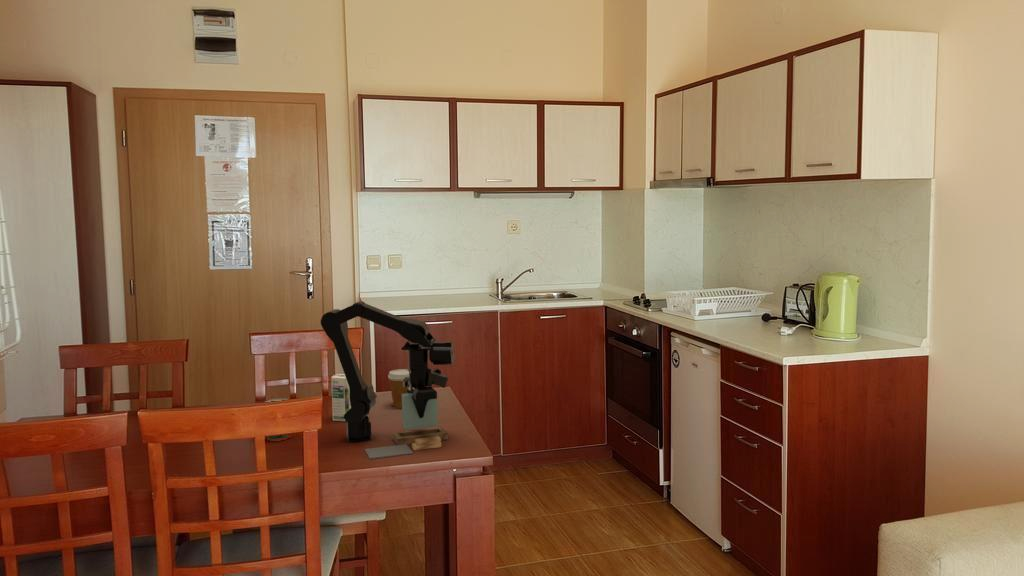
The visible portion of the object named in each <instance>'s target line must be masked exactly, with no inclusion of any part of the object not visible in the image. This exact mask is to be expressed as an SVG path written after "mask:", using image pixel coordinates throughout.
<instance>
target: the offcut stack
mask: <svg viewBox="0 0 1024 576" xmlns="http://www.w3.org/2000/svg"><path fill="white" fill-rule="evenodd" d="M411 448H412V449H413V451H421V450H428V449H429V448H430V449H437V448H442V440H441V438H440V437H439V436H434V437H427V438H420V439H415V443H412V444H411Z"/></svg>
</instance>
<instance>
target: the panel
mask: <svg viewBox="0 0 1024 576" xmlns="http://www.w3.org/2000/svg"><path fill="white" fill-rule="evenodd" d="M411 396H413V393H406V394H402V408H401V420H402V421H401V423H402V426H401V427H402V429H404V430H403V431H408V430H417V429H426V428H434V427H439V413H438V408H439V407H438V398H437V399H430V400H428V402H427V405H426V408H425V413H424V417H423V418H419V416H418V413H417V410H416V408H415V405H414V403H413V400H412V398H411Z"/></svg>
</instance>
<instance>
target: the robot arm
mask: <svg viewBox="0 0 1024 576" xmlns="http://www.w3.org/2000/svg"><path fill="white" fill-rule="evenodd" d="M358 317H359V318H362V319H364V320H366V321H369V322H371V323H375V324H376V325H379V326H382V327H385V328H387V329H390V330H392V331H394V332H396V333H398V334H399V336H401V337H402V338H404V339H406V340H407V341H406V342H405V344H404V345H403V346H402V347H401V351H408V352H407V353H408V366H407V368H406V369H407V370H408V371H409V377H405V378H404V379H403V387H404V388H407V386H409V390H406V392H407V393H413V396H411V398H412V400H413V403H414V405H415V408H416V410H417V413H418V416H419V418H423V417H424V413H425V408H426V405H427V402H428V400H430V399H437V400H438V392H437V390H436V389H435V388H433V385H434V386H438V387H441V388H443V389H445V388H446V387H447V384H448V381H449V377H448V376H447V375H445V374H444V373H442V371H441V369H439V368H436V367H435V368H434V369H432V368H430V367H429V362H430V363H431V364H433V365H434V366H437V365H438V366H447V365H448V366H451V365H452V366H453V365H454V362H455V350H454V345H453V341H449V340H448V341H437V340H436V338H435V336H433V335H432V333H431V332H430V327H429V326H428V324H427V323H426V322H425V321H423V320H419V319H414V318H404V317H400V316H398V315H395V314H393V313H391V312H388V311H386V310H382V309H380V308H379V307H378V308H377V307H375V306H373V305H370V304H368V303H366V302H364V301H362V300H360V301H356V302H355V303H353V304H352V305H350V306H347V307H345V308H343V309H337V308H335V309H332V310H328V311H327V312H326V313H324V314H323V315H322V316H321V319H320V325H321V327H322V329H323V331H324V333H325V334H326V335H325V336H327V337H328V338H329V340H330V341H331V342H332V344H333V345H334V349H335V351H336V354H337V357H338V360H339V362H340V365H341V367H342V370H343V374H345V376H346V379H347V382H348V385H349V389H350V404H351V408H350V409H349V410H348V411H347V412H346V413H345V414H344V418H345V421H344V422H346V433H345V438H346V439H347V441H348V442H349V443H353V442H360V441H361V442H362V441H370V440H371V439H372V438H371V436H372V422H371V421H370V417H369V414H370V412H371V410H373V409H374V408H375V406H376V404H377V399H376V398H377V397H378V396H377V394H376V393H375V389H374V386H373V384H370V385H368V384H367V383H366V382H365V380H364V379H363V378H364V377H363V375H362V372H361V370H360V367H359V364H358V362H357V359H356V356H355V354H354V350H353V348H352V344H351V341H350V339H349V325H348V321H350V320H352V319H355V318H358Z"/></svg>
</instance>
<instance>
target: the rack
mask: <svg viewBox="0 0 1024 576" xmlns="http://www.w3.org/2000/svg"><path fill="white" fill-rule="evenodd" d="M434 436H439V437H440V438H441V441H445V440H447V441H448V438H449V437H448V436H449V435H448V432H447V430H445V428H444V427H443V426H435V427H426V428H418V429H409V430H403V431H402V430H401V431H396V432H395V431H394V432H392V439H393V441H394V443H395V444H396V445H403V444H408V445H412V443H415V439H420V438H427V437H434Z"/></svg>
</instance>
